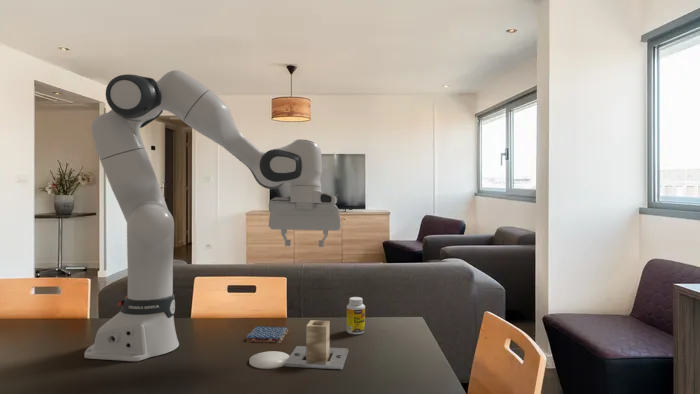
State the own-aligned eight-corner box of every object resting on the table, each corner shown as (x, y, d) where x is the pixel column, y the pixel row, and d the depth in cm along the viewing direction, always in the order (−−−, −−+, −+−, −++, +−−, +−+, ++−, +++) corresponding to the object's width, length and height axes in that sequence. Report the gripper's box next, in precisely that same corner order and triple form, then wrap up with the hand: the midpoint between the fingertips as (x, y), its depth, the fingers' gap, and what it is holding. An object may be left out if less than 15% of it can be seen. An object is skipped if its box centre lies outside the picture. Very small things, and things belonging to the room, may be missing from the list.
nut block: (306, 362, 110) (306, 325, 109) (310, 354, 115) (310, 319, 114) (326, 363, 109) (326, 326, 109) (329, 355, 114) (329, 320, 114)
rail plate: (284, 366, 107) (284, 362, 107) (296, 349, 119) (296, 345, 119) (342, 369, 105) (342, 365, 105) (348, 351, 117) (348, 348, 117)
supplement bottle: (353, 336, 129) (353, 301, 129) (342, 331, 134) (343, 297, 134) (368, 333, 133) (368, 299, 132) (358, 328, 137) (358, 295, 137)
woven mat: (244, 343, 124) (244, 336, 124) (255, 331, 135) (255, 325, 135) (280, 345, 123) (280, 337, 123) (289, 333, 134) (289, 326, 134)
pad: (245, 369, 105) (245, 366, 105) (252, 353, 115) (252, 351, 115) (288, 368, 105) (288, 365, 105) (291, 353, 115) (291, 351, 115)
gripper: (267, 195, 122) (265, 246, 121) (341, 197, 122) (340, 247, 121) (270, 197, 128) (269, 245, 127) (341, 198, 128) (340, 246, 127)
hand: (304, 246), depth 124 cm, fingers open, 8 cm apart
